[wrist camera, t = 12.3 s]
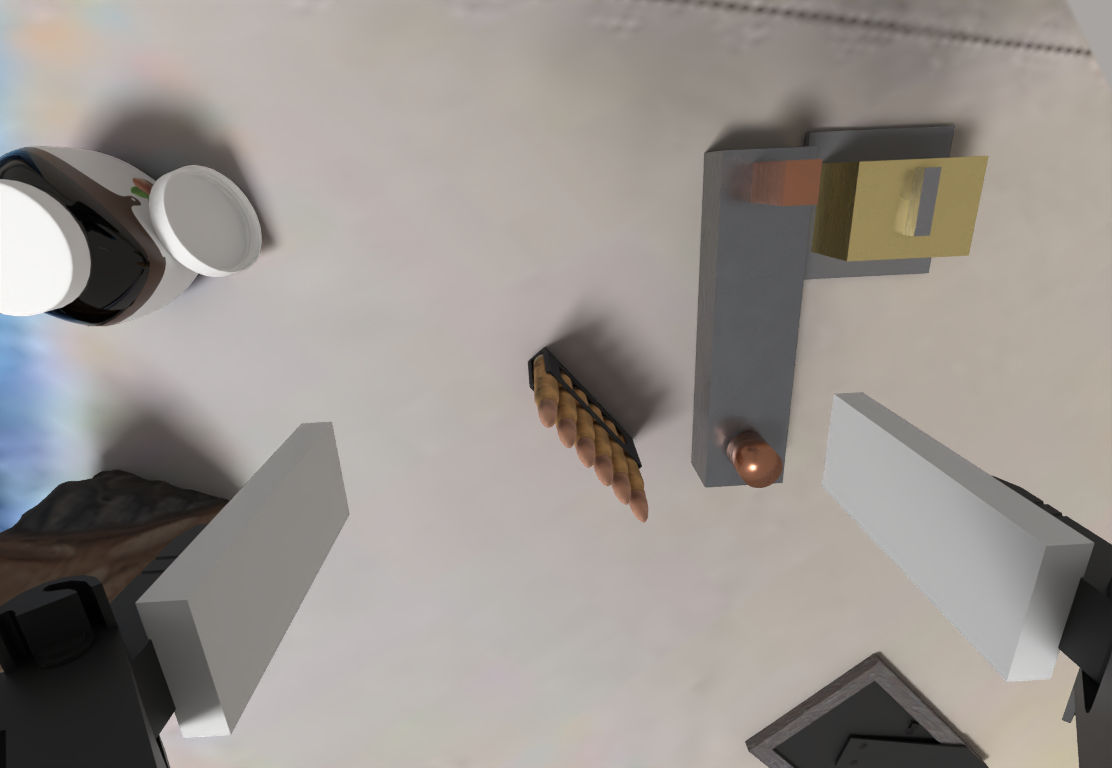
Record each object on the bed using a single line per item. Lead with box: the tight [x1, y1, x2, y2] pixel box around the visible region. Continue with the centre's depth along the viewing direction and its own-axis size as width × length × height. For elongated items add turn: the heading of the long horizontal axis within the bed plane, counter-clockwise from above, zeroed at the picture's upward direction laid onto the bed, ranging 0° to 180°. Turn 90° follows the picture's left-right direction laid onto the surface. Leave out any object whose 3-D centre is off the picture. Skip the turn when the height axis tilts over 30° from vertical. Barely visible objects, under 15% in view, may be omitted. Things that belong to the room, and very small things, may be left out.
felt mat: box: [804, 126, 955, 279], centre depth 41 cm, size 10×10×1 cm
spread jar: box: [0, 146, 262, 326], centre depth 34 cm, size 12×11×12 cm
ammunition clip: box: [528, 347, 648, 522], centre depth 40 cm, size 11×2×12 cm, turn 42°
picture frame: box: [745, 653, 989, 768], centre depth 60 cm, size 16×2×21 cm
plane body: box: [691, 146, 822, 488], centre depth 40 cm, size 24×6×9 cm, turn 2°
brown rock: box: [0, 470, 229, 673], centre depth 38 cm, size 13×13×20 cm
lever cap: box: [811, 156, 988, 261], centre depth 38 cm, size 6×8×6 cm
